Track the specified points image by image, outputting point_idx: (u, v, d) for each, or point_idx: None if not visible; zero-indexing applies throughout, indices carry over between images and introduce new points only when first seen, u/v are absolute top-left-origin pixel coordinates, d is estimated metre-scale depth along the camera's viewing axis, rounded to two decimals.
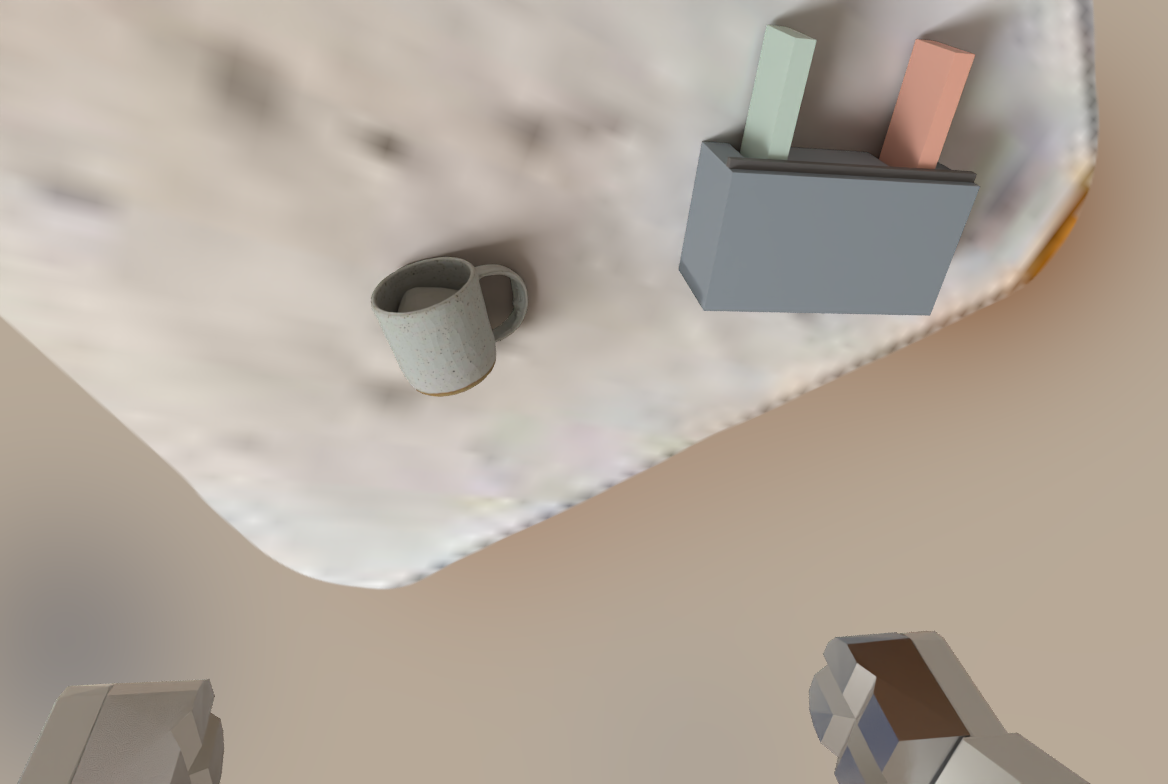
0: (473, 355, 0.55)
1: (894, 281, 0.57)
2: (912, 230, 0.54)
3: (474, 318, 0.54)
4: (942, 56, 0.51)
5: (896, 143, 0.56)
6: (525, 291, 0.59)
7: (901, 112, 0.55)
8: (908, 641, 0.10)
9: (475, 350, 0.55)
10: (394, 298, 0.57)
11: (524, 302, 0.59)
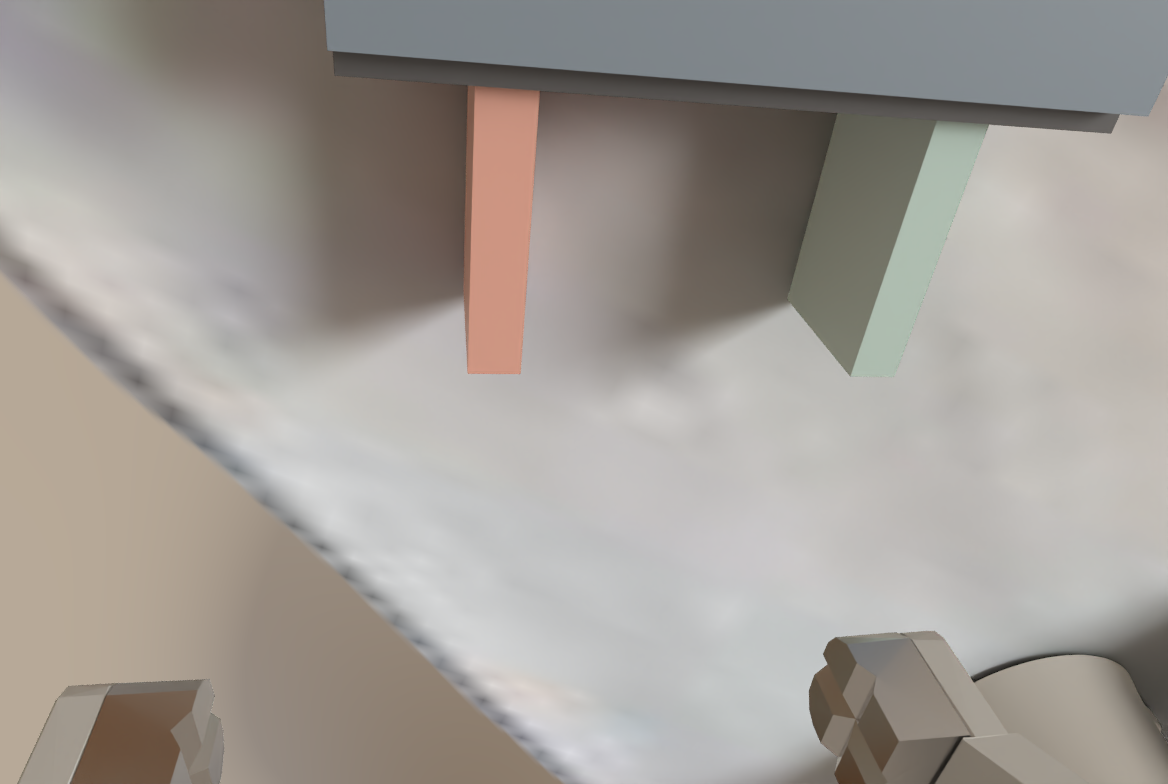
0: None
1: None
2: None
3: None
4: None
5: None
6: None
7: None
8: (908, 641, 0.10)
9: None
10: None
11: None
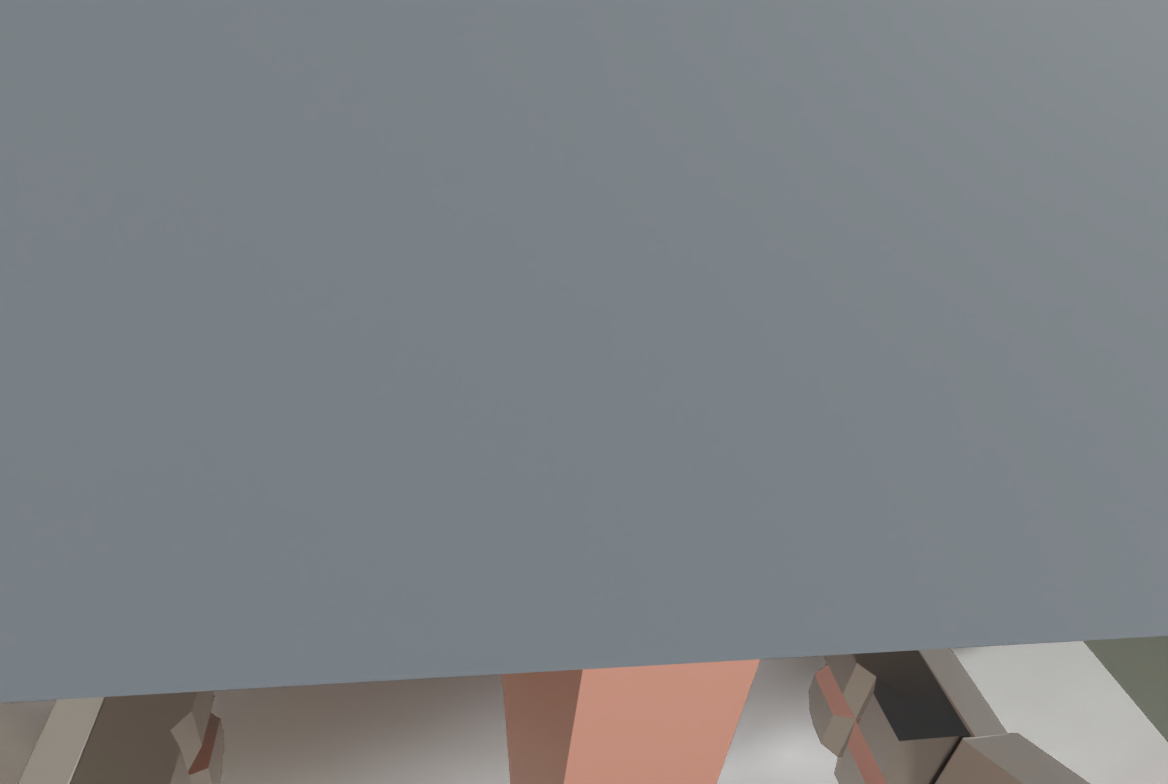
0: None
1: None
2: None
3: None
4: None
5: None
6: None
7: None
8: None
9: None
10: None
11: None
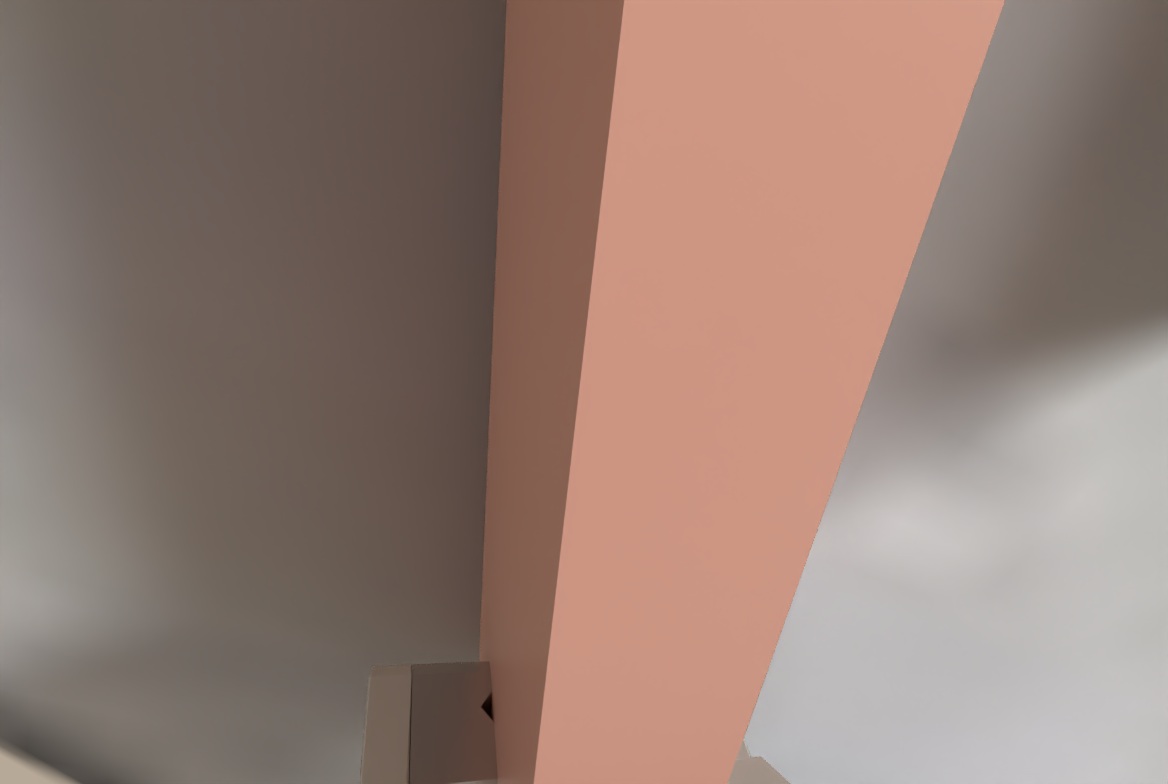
0: None
1: None
2: None
3: None
4: None
5: None
6: None
7: None
8: None
9: None
10: None
11: None
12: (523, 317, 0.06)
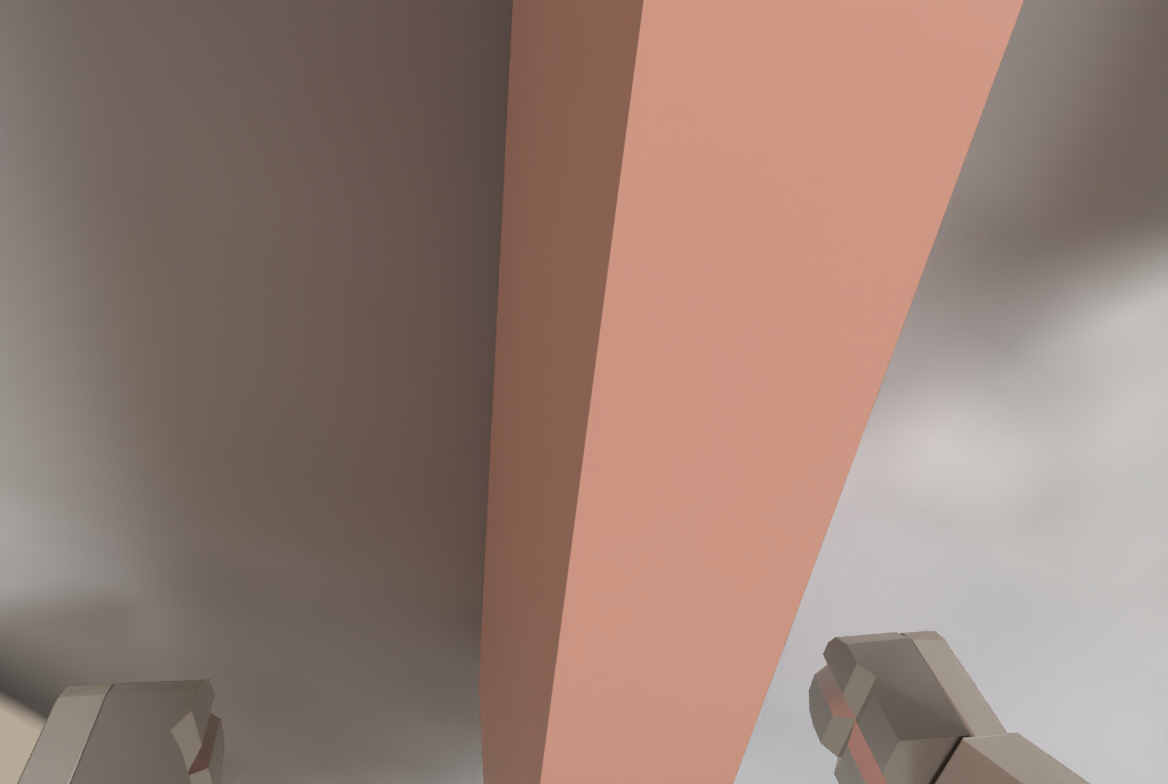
0: None
1: None
2: None
3: None
4: None
5: None
6: None
7: None
8: (908, 641, 0.10)
9: None
10: None
11: None
12: (531, 309, 0.06)
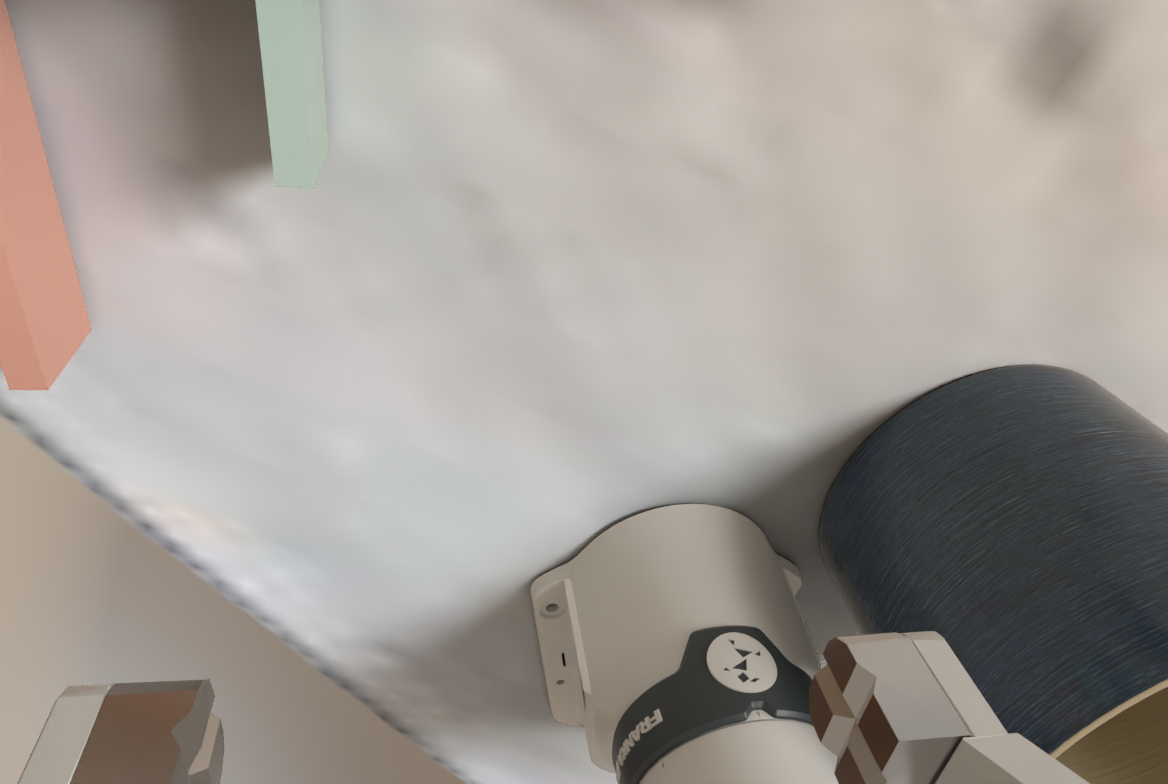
0: None
1: None
2: None
3: None
4: (57, 363, 0.32)
5: (38, 202, 0.31)
6: None
7: (56, 244, 0.32)
8: (908, 641, 0.10)
9: None
10: None
11: None
12: None
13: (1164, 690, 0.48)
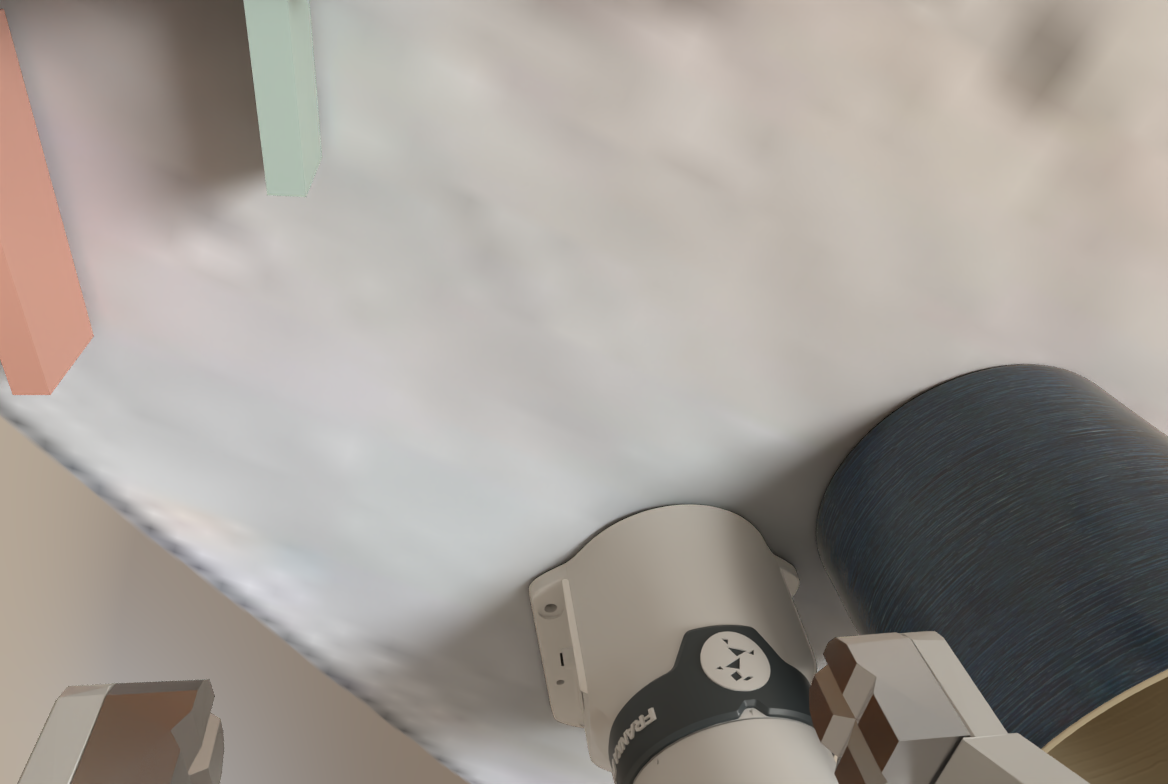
0: None
1: None
2: None
3: None
4: (59, 368, 0.33)
5: (39, 212, 0.32)
6: None
7: (58, 252, 0.33)
8: (907, 641, 0.10)
9: None
10: None
11: None
12: None
13: (1163, 689, 0.48)
